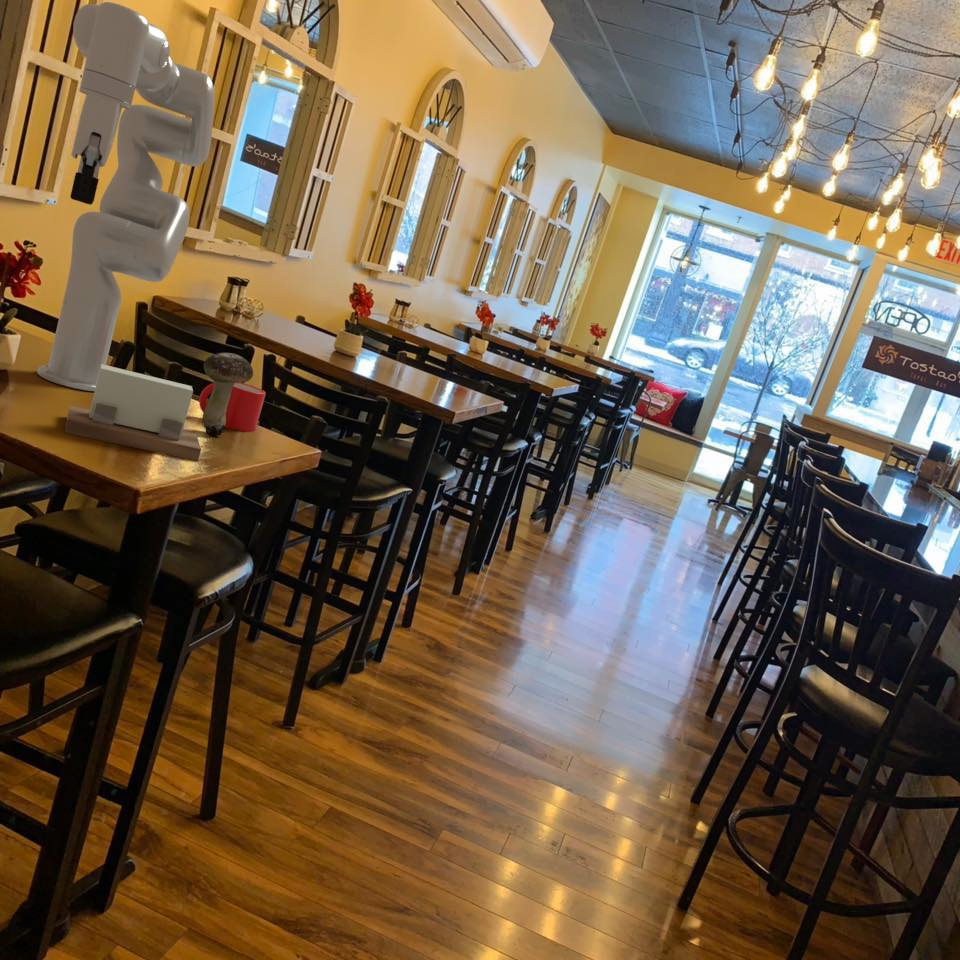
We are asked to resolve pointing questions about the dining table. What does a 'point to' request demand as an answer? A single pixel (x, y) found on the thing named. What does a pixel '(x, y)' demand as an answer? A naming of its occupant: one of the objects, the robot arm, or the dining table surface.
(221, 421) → the mushroom
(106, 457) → the dining table surface
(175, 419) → the pale grey rectangular block
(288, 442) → the dining table surface
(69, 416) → the board
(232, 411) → the mug
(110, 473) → the dining table surface
